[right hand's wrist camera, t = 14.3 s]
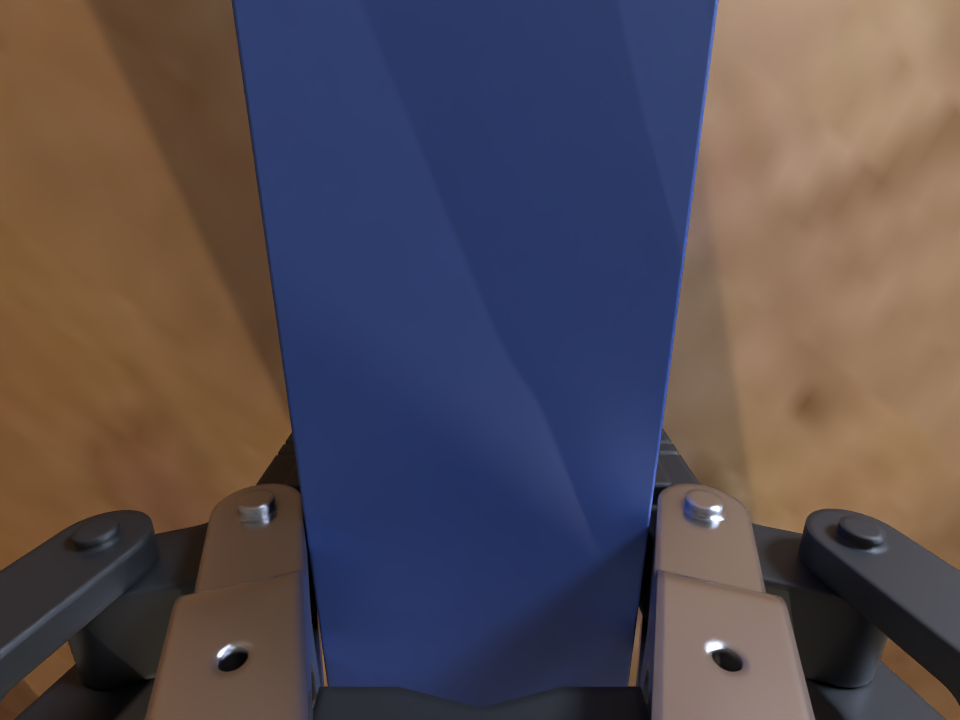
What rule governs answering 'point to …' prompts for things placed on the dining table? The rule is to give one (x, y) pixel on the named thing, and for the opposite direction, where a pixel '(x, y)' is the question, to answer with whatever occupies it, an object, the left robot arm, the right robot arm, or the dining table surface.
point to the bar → (476, 318)
